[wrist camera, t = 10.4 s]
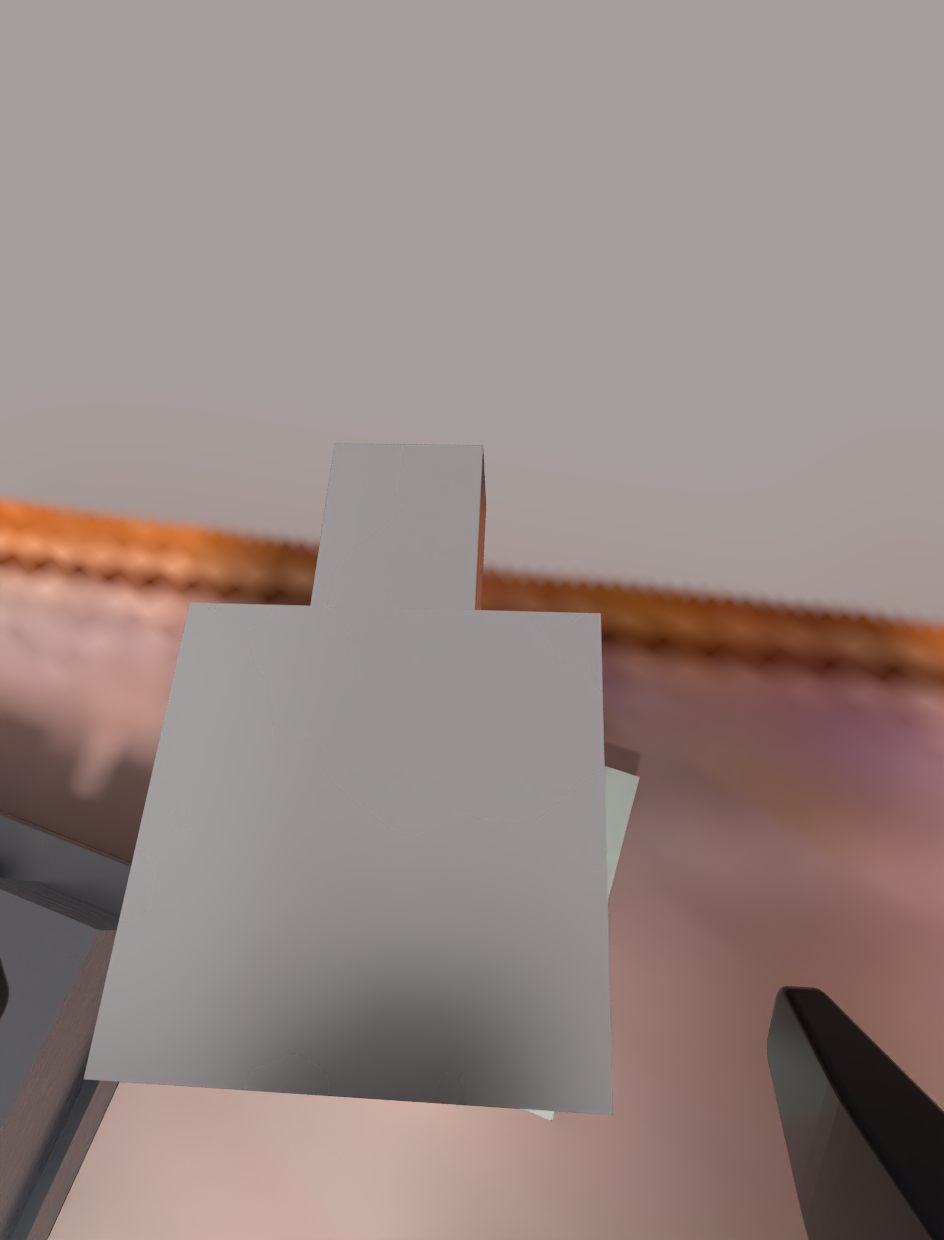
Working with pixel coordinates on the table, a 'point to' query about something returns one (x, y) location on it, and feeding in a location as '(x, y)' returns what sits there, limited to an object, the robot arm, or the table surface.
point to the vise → (50, 1014)
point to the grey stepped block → (375, 828)
